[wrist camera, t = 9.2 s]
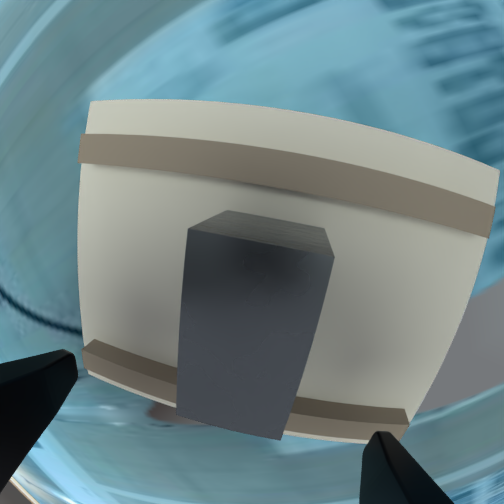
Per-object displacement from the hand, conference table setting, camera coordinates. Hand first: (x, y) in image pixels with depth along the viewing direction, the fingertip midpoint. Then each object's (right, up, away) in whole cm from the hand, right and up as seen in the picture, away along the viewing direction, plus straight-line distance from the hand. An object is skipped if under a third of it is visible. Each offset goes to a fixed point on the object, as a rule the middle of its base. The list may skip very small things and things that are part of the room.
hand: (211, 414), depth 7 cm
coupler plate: (+2, +2, +9) cm, 9 cm away
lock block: (+1, +2, +8) cm, 8 cm away
